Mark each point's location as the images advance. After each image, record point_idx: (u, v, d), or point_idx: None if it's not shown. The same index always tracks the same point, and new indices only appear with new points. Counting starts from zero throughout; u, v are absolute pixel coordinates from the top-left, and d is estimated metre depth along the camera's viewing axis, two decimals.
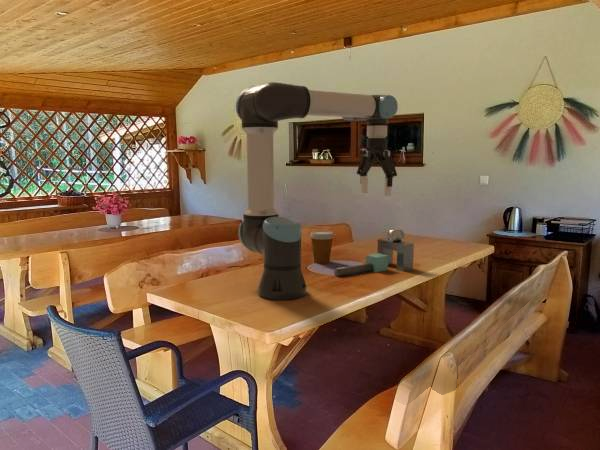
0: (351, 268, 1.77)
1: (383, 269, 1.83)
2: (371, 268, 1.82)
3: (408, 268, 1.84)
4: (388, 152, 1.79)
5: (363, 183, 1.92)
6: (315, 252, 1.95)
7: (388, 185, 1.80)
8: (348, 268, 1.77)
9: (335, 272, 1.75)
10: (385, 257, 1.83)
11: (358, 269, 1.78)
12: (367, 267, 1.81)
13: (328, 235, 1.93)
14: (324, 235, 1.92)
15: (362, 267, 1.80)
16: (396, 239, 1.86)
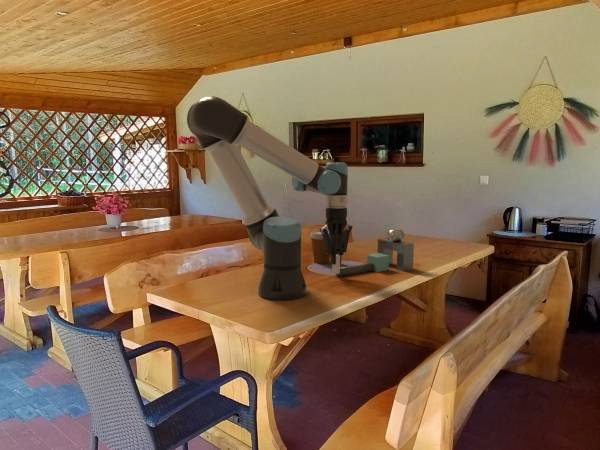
0: (352, 268, 1.77)
1: (384, 269, 1.83)
2: (372, 268, 1.82)
3: (408, 268, 1.84)
4: (322, 231, 1.69)
5: None
6: (315, 252, 1.95)
7: None
8: (349, 268, 1.77)
9: None
10: (386, 257, 1.83)
11: (358, 269, 1.79)
12: (368, 267, 1.81)
13: None
14: None
15: (363, 267, 1.80)
16: (396, 239, 1.86)
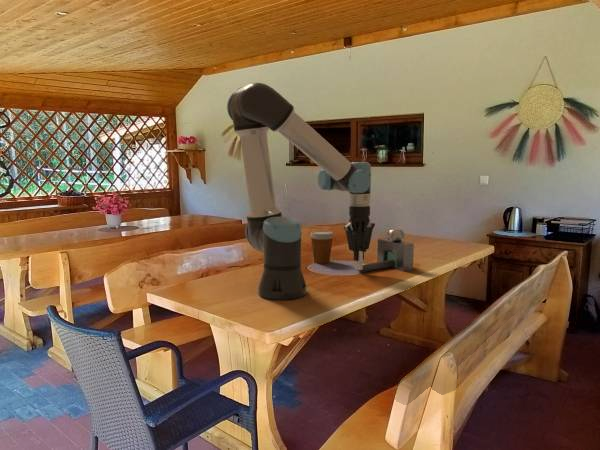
0: (374, 264, 1.83)
1: None
2: (393, 264, 1.88)
3: (408, 268, 1.84)
4: (346, 228, 1.75)
5: None
6: (315, 252, 1.95)
7: None
8: (371, 264, 1.82)
9: None
10: None
11: (380, 265, 1.84)
12: (389, 263, 1.87)
13: (328, 235, 1.93)
14: (324, 235, 1.92)
15: (384, 263, 1.85)
16: (396, 239, 1.86)
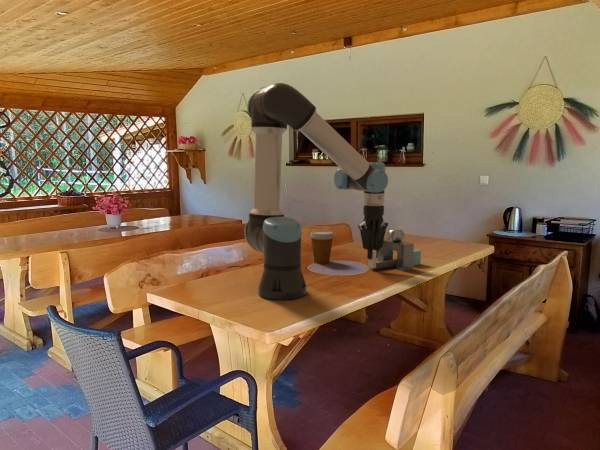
0: (387, 262, 1.86)
1: (416, 263, 1.93)
2: None
3: (408, 268, 1.84)
4: (360, 227, 1.78)
5: None
6: (315, 252, 1.95)
7: None
8: (384, 262, 1.86)
9: None
10: (418, 252, 1.92)
11: (393, 263, 1.88)
12: None
13: (328, 235, 1.93)
14: (324, 235, 1.92)
15: None
16: (396, 239, 1.86)
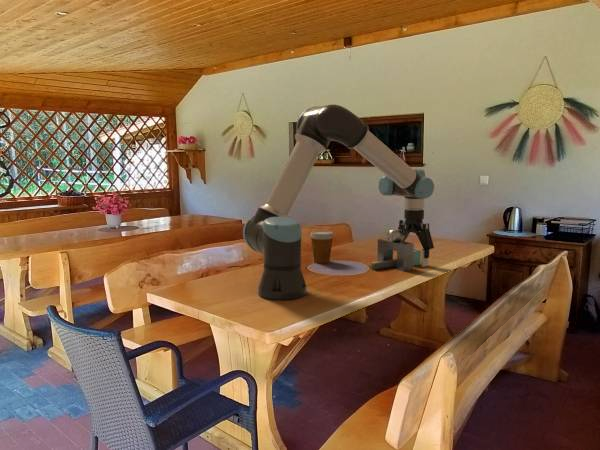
0: (387, 262, 1.86)
1: (416, 263, 1.93)
2: None
3: (408, 268, 1.84)
4: (426, 226, 1.87)
5: None
6: (315, 252, 1.95)
7: (425, 257, 1.88)
8: (384, 262, 1.86)
9: (372, 266, 1.85)
10: (418, 252, 1.92)
11: (393, 263, 1.88)
12: None
13: (328, 235, 1.93)
14: (324, 235, 1.92)
15: None
16: (396, 239, 1.86)
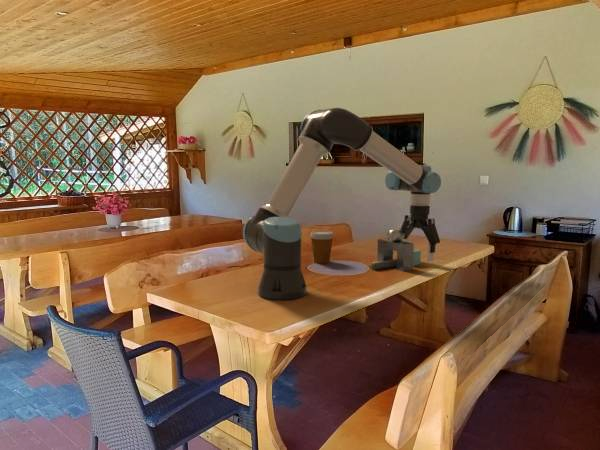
0: (387, 262, 1.86)
1: (416, 263, 1.93)
2: None
3: (408, 268, 1.84)
4: (432, 220, 1.88)
5: None
6: (315, 252, 1.95)
7: (431, 251, 1.89)
8: (384, 262, 1.86)
9: (372, 266, 1.85)
10: (418, 252, 1.92)
11: (393, 263, 1.88)
12: None
13: (328, 235, 1.93)
14: (324, 235, 1.92)
15: None
16: (396, 239, 1.86)
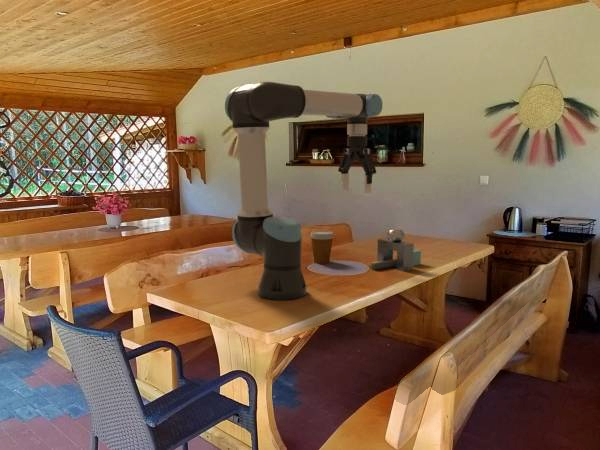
0: (387, 262, 1.86)
1: (416, 263, 1.93)
2: None
3: (408, 268, 1.84)
4: (368, 150, 1.82)
5: (344, 180, 1.95)
6: (315, 252, 1.95)
7: (368, 182, 1.83)
8: (384, 262, 1.86)
9: (372, 266, 1.85)
10: (418, 252, 1.92)
11: (393, 263, 1.88)
12: None
13: (328, 235, 1.93)
14: (324, 235, 1.92)
15: None
16: (396, 239, 1.86)
